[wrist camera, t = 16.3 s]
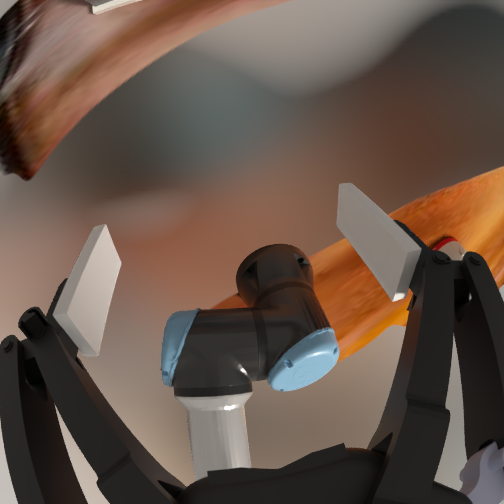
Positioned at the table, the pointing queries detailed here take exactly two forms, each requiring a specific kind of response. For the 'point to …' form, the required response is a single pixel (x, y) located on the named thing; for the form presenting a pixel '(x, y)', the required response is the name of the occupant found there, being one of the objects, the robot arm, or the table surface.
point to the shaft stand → (111, 5)
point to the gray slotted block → (97, 2)
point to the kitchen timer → (451, 248)
